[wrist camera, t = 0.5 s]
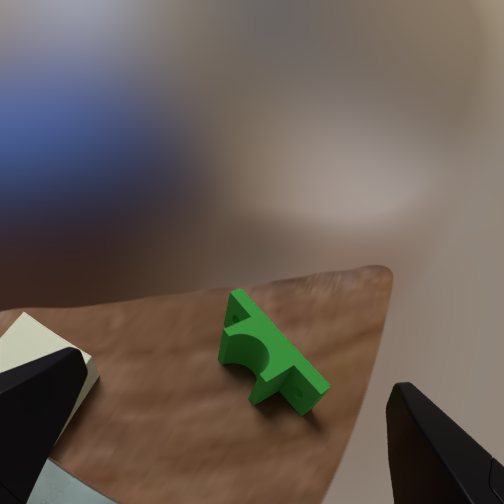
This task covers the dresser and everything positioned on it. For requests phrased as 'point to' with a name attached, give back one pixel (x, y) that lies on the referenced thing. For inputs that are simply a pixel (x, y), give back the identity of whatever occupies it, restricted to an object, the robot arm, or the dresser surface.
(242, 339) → the pipe clamp
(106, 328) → the dresser surface
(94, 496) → the grey-blue rectangular block
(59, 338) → the sage stand
